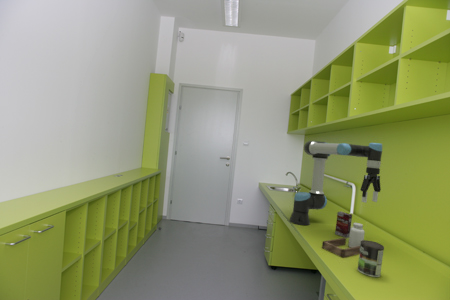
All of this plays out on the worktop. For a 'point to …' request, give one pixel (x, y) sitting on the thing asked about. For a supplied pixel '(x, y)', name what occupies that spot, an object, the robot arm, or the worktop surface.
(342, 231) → the supplement box
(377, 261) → the coffee can
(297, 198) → the robot arm
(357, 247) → the frame
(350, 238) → the pill bottle
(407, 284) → the worktop surface
